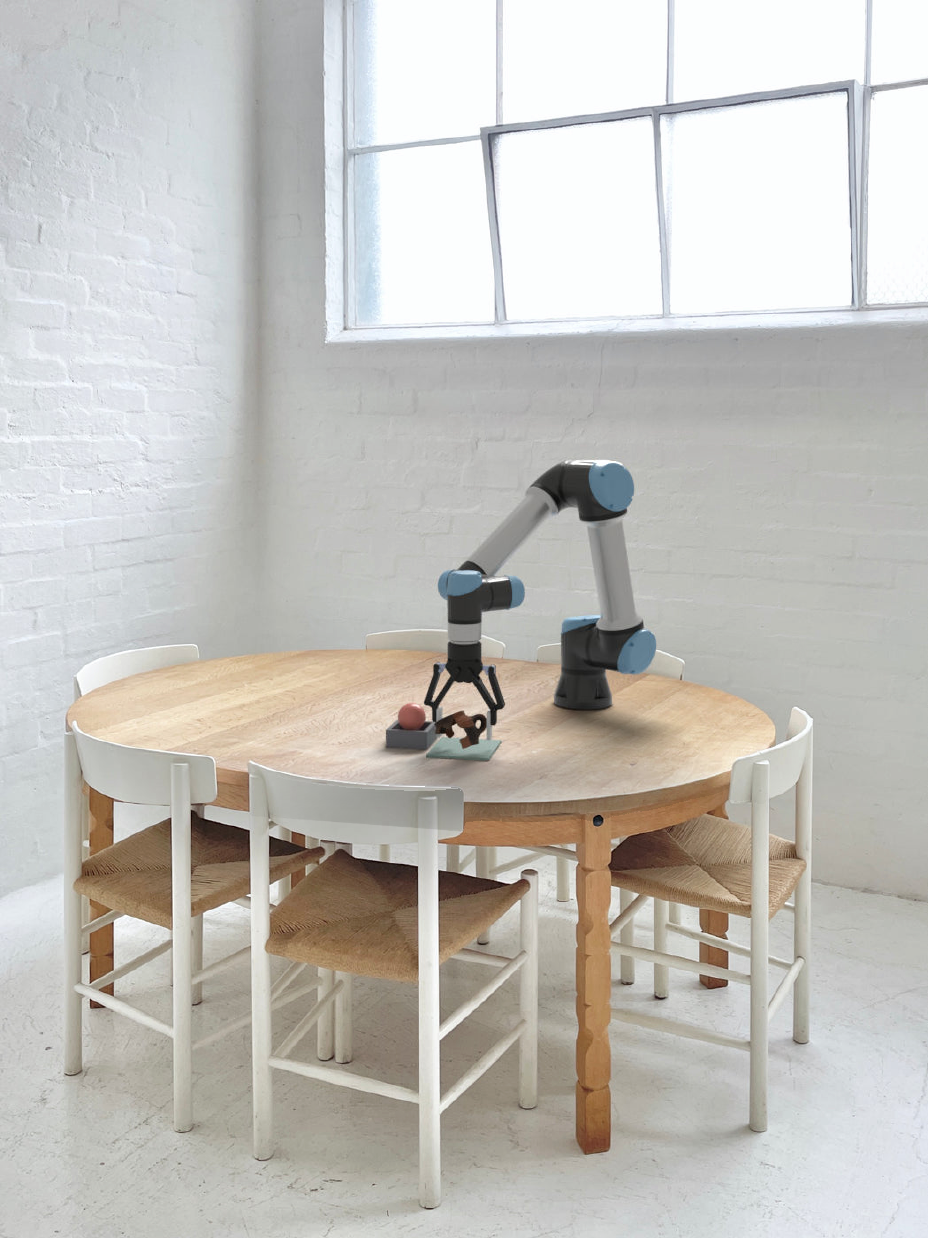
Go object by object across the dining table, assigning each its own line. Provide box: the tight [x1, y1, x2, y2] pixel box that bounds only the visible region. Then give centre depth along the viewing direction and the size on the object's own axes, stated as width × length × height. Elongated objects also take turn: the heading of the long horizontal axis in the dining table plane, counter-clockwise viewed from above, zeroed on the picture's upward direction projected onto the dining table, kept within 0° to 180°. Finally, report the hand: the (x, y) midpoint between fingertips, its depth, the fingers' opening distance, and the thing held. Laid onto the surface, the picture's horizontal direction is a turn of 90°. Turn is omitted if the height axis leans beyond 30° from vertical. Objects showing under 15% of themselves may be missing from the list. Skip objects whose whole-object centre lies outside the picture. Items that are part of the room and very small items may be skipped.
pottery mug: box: [434, 710, 487, 749], centre depth 254 cm, size 12×10×8 cm
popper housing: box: [385, 718, 438, 750], centre depth 263 cm, size 10×10×4 cm
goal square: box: [425, 736, 502, 761], centre depth 258 cm, size 14×15×1 cm
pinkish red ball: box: [397, 702, 427, 730], centre depth 263 cm, size 6×6×6 cm
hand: (464, 737), depth 257 cm, fingers closed on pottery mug, 11 cm apart
